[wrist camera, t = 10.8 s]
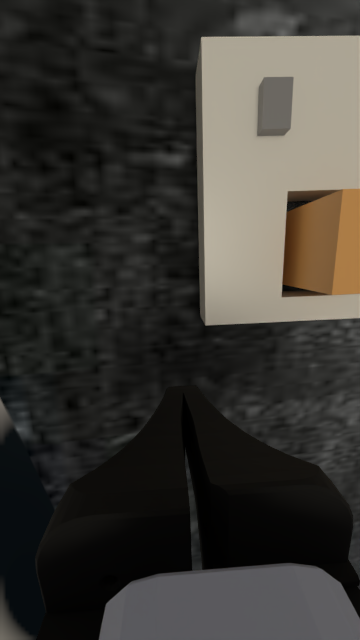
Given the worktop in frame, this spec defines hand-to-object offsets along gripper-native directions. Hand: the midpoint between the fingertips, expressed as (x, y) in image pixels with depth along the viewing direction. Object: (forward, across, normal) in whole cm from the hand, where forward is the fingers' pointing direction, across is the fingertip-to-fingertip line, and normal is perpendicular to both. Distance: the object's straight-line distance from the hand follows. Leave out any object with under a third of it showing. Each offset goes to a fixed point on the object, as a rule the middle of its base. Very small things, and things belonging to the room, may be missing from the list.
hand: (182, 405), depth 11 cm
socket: (+9, -8, -10) cm, 16 cm away
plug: (+9, -10, -7) cm, 15 cm away
